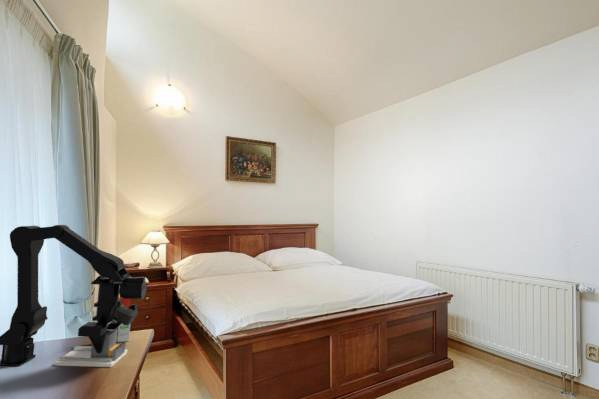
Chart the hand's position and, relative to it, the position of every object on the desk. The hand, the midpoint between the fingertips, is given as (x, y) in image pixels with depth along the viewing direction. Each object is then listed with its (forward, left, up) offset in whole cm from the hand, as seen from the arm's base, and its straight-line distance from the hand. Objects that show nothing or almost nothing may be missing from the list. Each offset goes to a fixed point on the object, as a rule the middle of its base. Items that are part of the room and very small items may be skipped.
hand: (103, 349), depth 99 cm
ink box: (-3, +14, -3) cm, 15 cm away
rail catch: (+3, 0, -2) cm, 4 cm away
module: (0, 0, -2) cm, 2 cm away
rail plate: (-3, 0, -3) cm, 4 cm away
